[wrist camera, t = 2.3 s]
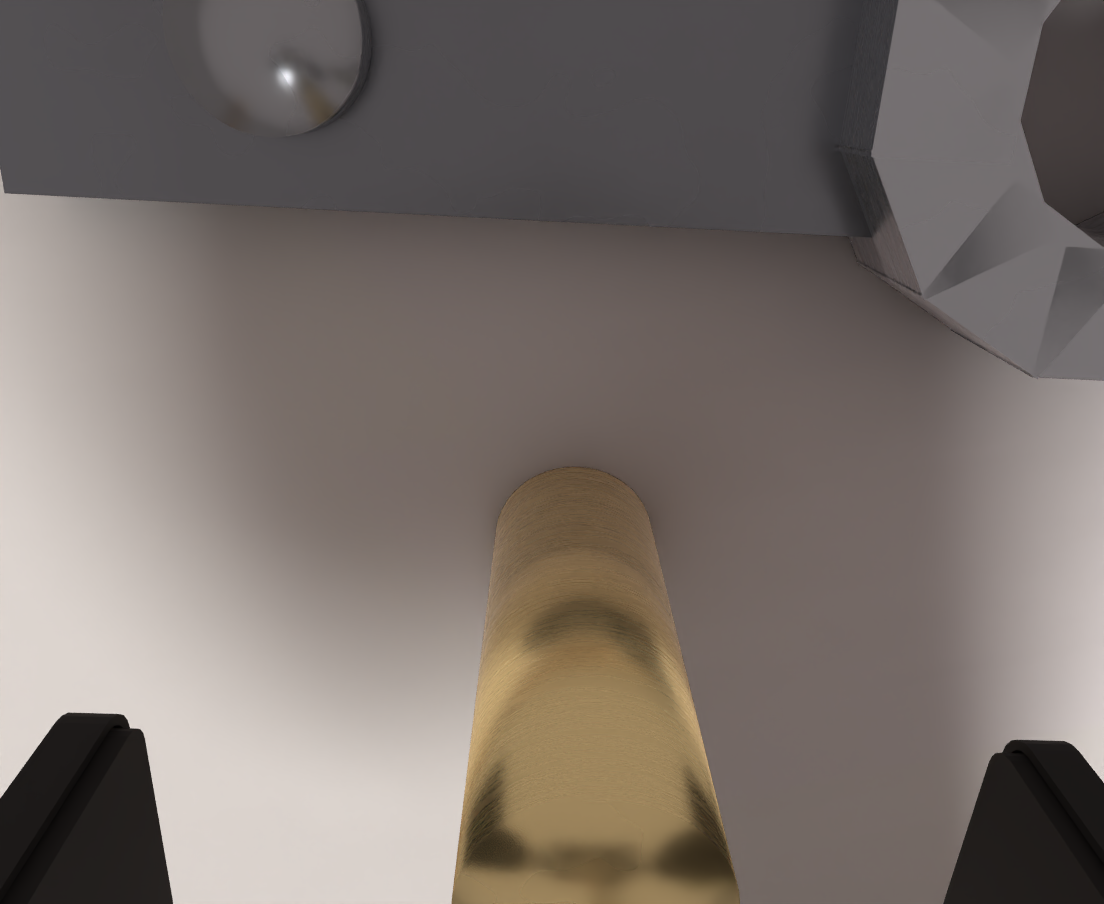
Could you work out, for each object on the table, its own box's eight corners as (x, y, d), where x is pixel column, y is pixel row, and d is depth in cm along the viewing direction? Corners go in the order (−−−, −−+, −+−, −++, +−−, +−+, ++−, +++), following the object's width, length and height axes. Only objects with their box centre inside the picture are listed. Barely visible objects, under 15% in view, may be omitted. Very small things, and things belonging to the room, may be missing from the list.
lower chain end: (1432, -208, 13) (1598, -264, 11) (1239, 345, 17) (1341, 382, 15) (-21, -299, 13) (-132, -377, 11) (69, 288, 16) (-4, 317, 14)
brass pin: (682, 517, 18) (798, 881, 10) (594, 630, 19) (631, 1049, 11) (550, 438, 17) (552, 754, 9) (466, 559, 18) (397, 945, 10)
